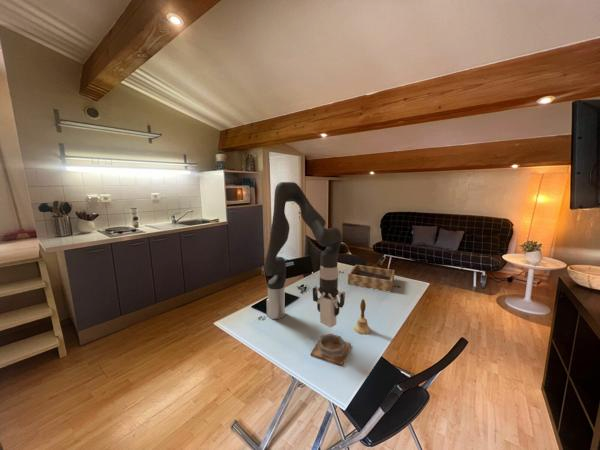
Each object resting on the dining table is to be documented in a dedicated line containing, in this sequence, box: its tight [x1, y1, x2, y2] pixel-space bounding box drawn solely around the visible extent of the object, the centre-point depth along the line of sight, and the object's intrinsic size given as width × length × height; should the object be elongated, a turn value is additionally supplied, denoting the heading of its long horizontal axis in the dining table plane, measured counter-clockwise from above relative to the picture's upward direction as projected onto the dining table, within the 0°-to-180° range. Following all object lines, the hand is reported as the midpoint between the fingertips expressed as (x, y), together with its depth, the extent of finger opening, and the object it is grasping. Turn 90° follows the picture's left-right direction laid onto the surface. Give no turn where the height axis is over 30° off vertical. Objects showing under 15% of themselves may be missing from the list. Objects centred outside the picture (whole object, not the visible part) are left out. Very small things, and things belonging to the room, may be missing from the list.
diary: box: [355, 270, 391, 280], centre depth 179 cm, size 19×25×5 cm
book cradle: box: [347, 264, 395, 292], centre depth 178 cm, size 30×24×8 cm
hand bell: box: [353, 298, 371, 335], centre depth 118 cm, size 8×8×16 cm
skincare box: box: [319, 297, 337, 329], centre depth 100 cm, size 6×4×12 cm
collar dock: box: [310, 333, 352, 367], centre depth 104 cm, size 14×14×4 cm
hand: (328, 312), depth 100 cm, fingers closed on skincare box, 7 cm apart
